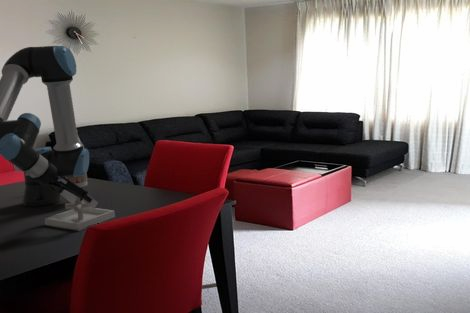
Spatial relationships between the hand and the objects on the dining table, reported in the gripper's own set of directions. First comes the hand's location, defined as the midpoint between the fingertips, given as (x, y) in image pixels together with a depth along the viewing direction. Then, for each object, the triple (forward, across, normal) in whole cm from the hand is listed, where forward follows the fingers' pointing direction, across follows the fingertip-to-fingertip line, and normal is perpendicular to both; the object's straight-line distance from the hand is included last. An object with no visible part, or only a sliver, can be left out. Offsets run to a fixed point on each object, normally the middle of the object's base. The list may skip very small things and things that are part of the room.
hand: (85, 203), depth 163 cm
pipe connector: (+2, 0, -6) cm, 6 cm away
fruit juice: (+25, -54, +16) cm, 62 cm away
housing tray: (+3, 0, -6) cm, 7 cm away
